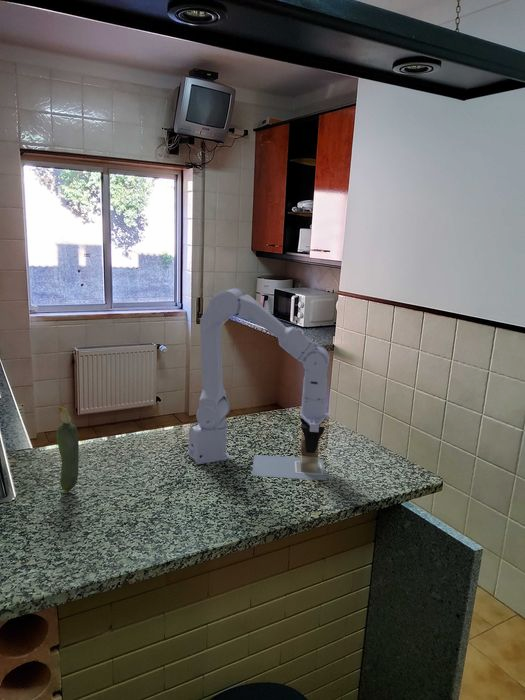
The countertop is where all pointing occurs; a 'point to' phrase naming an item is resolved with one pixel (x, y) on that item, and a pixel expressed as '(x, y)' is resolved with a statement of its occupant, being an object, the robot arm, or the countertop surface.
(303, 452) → the walnut block
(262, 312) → the robot arm
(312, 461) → the maple block
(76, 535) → the countertop surface
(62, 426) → the vegetable
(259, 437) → the countertop surface
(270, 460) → the board
